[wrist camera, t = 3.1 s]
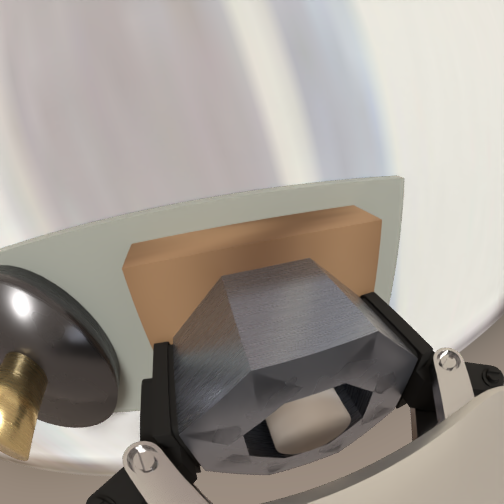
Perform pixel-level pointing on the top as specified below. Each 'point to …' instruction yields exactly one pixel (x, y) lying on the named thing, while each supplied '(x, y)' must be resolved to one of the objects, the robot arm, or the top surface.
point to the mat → (178, 222)
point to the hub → (49, 361)
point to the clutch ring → (280, 364)
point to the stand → (249, 258)
